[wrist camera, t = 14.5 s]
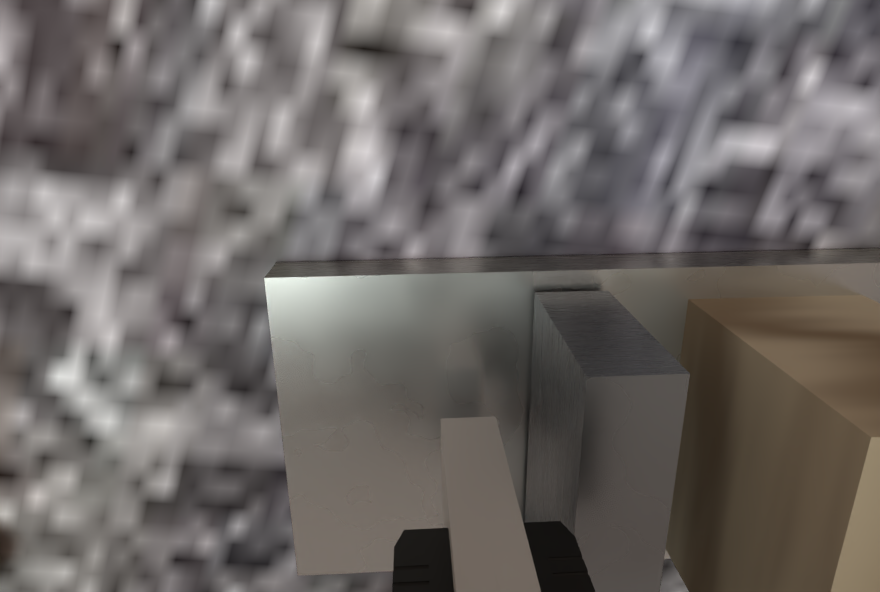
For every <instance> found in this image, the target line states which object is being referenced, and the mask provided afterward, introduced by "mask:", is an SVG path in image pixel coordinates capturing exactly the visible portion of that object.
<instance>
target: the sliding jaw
mask: <svg viewBox="0 0 880 592" xmlns="http://www.w3.org/2000/svg"><path fill="white" fill-rule="evenodd" d="M689 378H690V373H689V372H688V371H687V370H686V369H685V368H684V367H683V366H682V365H681V364H680V363H679V362H678V361H677V360H676V359H675V358H674V357H673V356H672V355H671V354H670V353H669V352H668V351H667V350H666V349H665V348H664V347H663V346H662V345H661V344H660V343H659V342H658V341H657V340H656V339H655V338H654V337H653V336H652V335H651V334H650V333H649V332H648V331H647V330H646V329H645V328H644V326H643V325H642V324H641V323H640V322H639V321H638V320H637V319H636V318H635V317H634V316H633V315H632V314H631V313H630V312H629V311H628V310H627V309H626V308H625V307H624V306H623V305H622V304H621V303H620V302H619V301H618V300H617V299H616V298H615V297H614V296H613V295H612V294H611V293H610V292H609V291H608V290H607V291H569V292H535V296H534V319H533V342H532V365H531V388H530V411H529V434H528V457H527V480H526V503H525V523H526V522H547V521H561V522H562V523H563V524H564V525H565V527H566V528H567V529H568V530H569V531H570V532H571V533H572V534H573V535H574V536H575V537H576V540H577V543H578V546H579V548H580V551H581V554H582V559H584V562H585V565H586V567H587V570H588V575H589V576H590V578H591V581H592V584H593V586H594V589H595V592H660V585H661V578H662V571H663V563H664V556H665V549H666V542H667V535H668V528H669V521H670V513H671V506H672V499H673V492H674V485H675V478H676V471H677V464H678V456H679V449H680V442H681V435H682V428H683V421H684V414H685V407H686V399H687V392H688V385H689Z"/></svg>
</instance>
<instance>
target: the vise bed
mask: <svg viewBox="0 0 880 592" xmlns="http://www.w3.org/2000/svg"><path fill="white" fill-rule="evenodd" d="M264 280H265V289H266V298H267V307H268V316H269V324H270V333H271V342H272V351H273V360H274V369H275V378H276V387H277V395H278V404H279V413H280V422H281V431H282V440H283V449H284V458H285V466H286V475H287V484H288V493H289V502H290V511H291V520H292V529H293V537H294V546H295V555H296V564H297V573H298V576H301V575H323V574H345V573H367V572H389V571H393V562H394V546H395V545H396V543H397V541H398V539H399V538H400V536H401V534H402V532H403V531H404V530H409V529H431V528H444V521H443V508H442V472H441V422H440V419H443V418H468V417H493V416H496V420H497V424H498V427H499V431H500V435H501V439H502V443H503V447H504V451H505V454H506V458H507V462H508V466H509V470H510V474H511V478H512V481H513V485H514V489H515V493H516V497H517V501H518V505H519V508H520V512H521V516H522V520H523V523H525V503H526V480H527V457H528V434H529V411H530V388H531V365H532V342H533V319H534V296H535V292H569V291H607V290H608V291H609V292H610V293H611V294H612V295H613V296H614V297H615V298H616V299H617V300H618V301H619V302H620V303H621V304H622V305H623V306H624V307H625V308H626V309H627V310H628V311H629V312H630V313H631V314H632V315H633V316H634V317H635V318H636V319H637V320H638V321H639V322H640V323H641V324H642V325H643V326H644V328H645V329H646V330H647V331H648V332H649V333H650V334H651V335H652V336H653V337H654V338H655V339H656V340H657V341H658V342H659V343H660V344H661V345H662V346H663V347H664V348H665V349H666V350H667V351H668V352H669V353H670V354H671V355H672V356H673V357H674V358H675V359H676V360H677V361H678V362H679V363H680V357H681V350H682V342H683V335H684V327H685V320H686V313H687V305H688V299H716V298H757V297H798V296H839V295H863V296H865V297H868V298H870V299H872V300H874V301H876V302H879V303H880V248H868V249H825V250H783V251H741V252H698V253H656V254H614V255H571V256H529V257H487V258H444V259H402V260H360V261H317V262H276V263H275V265H274V266H273V267H272V269H271V270H270V271H269V272H268V274H267V275H266V276H265V278H264ZM664 559H671V558H670V556H669V554H668V552H667V551H666V549H665V556H664Z"/></svg>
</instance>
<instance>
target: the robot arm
mask: <svg viewBox="0 0 880 592" xmlns="http://www.w3.org/2000/svg"><path fill="white" fill-rule="evenodd" d="M440 422H441V472H442V508H443V521H444V528H431V529H409V530H404V531H403V532H402V534H401V536H400V538H399V539H398V541H397V543H396V545H395V546H394V562H393V591H392V592H595V589H594V586H593V584H592V581H591V578H590V576H589V575H588V570H587V567H586V565H585V562H584V559H582V554H581V551H580V548H579V546H578V543H577V540H576V537H575V536H574V535H573V534H572V533H571V532H570V531H569V530H568V529H567V528H566V527H565V525H564V524H563V523H562V522H561V521H547V522H526V523H523V520H522V516H521V512H520V508H519V505H518V501H517V497H516V493H515V489H514V485H513V481H512V478H511V474H510V470H509V466H508V462H507V458H506V454H505V451H504V447H503V443H502V439H501V435H500V431H499V427H498V424H497V420H496V416H493V417H468V418H443V419H440Z"/></svg>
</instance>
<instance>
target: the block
mask: <svg viewBox="0 0 880 592" xmlns="http://www.w3.org/2000/svg"><path fill="white" fill-rule="evenodd" d="M680 364H681V365H682V366H683V367H684V368H685V369H686V370H687V371H688V372H689V373H690V378H689V385H688V392H687V399H686V407H685V414H684V421H683V428H682V435H681V442H680V449H679V456H678V464H677V471H676V478H675V485H674V492H673V499H672V506H671V513H670V521H669V528H668V535H667V542H666V551H667V552H668V554H669V556H670V558H671V560H672V561H673V563H674V565H675V567H676V569H677V570H678V572H679V574H680V576H681V578H682V579H683V581H684V583H685V585H686V587H687V588H688V590H689V592H880V303H879V302H876V301H874V300H872V299H870V298H868V297H865V296H863V295H839V296H798V297H757V298H716V299H688V305H687V313H686V320H685V327H684V335H683V342H682V350H681V357H680Z"/></svg>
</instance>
